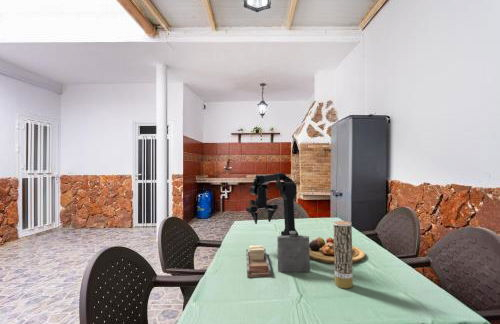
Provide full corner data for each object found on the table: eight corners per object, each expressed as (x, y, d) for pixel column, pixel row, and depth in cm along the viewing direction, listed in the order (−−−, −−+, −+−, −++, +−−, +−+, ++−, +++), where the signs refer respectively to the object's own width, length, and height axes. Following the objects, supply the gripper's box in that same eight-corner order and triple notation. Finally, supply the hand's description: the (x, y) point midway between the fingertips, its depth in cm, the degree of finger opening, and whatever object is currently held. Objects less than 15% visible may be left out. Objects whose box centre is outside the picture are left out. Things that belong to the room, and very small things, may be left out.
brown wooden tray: (246, 254, 149) (246, 247, 149) (265, 253, 149) (265, 246, 149) (247, 277, 119) (247, 268, 119) (271, 276, 119) (270, 268, 119)
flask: (278, 269, 127) (277, 230, 127) (309, 269, 126) (308, 230, 126) (278, 272, 124) (277, 232, 124) (310, 272, 122) (309, 232, 122)
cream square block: (249, 255, 143) (249, 245, 143) (262, 254, 144) (262, 245, 144) (249, 260, 136) (249, 250, 136) (264, 259, 137) (263, 249, 137)
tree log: (338, 280, 114) (337, 220, 114) (355, 284, 110) (353, 222, 110) (332, 286, 109) (330, 223, 109) (349, 290, 105) (347, 225, 105)
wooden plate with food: (372, 267, 127) (371, 249, 128) (302, 263, 134) (302, 246, 134) (359, 247, 159) (358, 233, 159) (303, 245, 165) (303, 231, 165)
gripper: (267, 193, 171) (268, 218, 171) (241, 196, 162) (242, 222, 162) (278, 195, 161) (278, 221, 161) (250, 198, 152) (251, 226, 152)
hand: (262, 222), depth 159 cm, fingers open, 9 cm apart
